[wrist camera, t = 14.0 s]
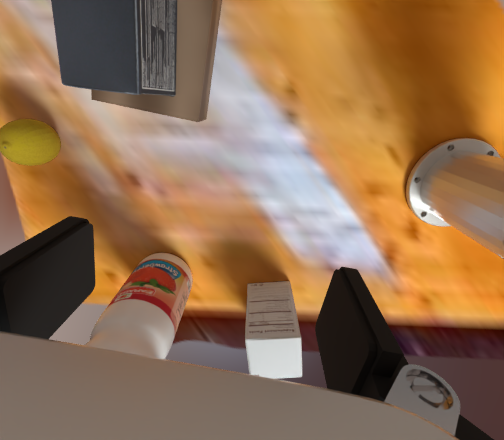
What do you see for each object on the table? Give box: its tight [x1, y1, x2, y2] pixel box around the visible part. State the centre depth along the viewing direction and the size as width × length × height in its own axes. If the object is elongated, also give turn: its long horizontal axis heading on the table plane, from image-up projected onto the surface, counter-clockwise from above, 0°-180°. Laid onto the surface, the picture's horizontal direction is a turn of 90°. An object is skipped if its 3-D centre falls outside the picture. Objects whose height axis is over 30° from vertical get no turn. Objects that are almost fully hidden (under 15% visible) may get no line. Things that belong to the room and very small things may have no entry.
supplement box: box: [245, 281, 302, 379], centre depth 43 cm, size 7×7×13 cm
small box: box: [51, 0, 177, 97], centre depth 24 cm, size 11×6×10 cm, turn 173°
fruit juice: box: [85, 253, 193, 359], centre depth 34 cm, size 9×9×28 cm
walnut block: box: [92, 0, 222, 122], centre depth 32 cm, size 12×14×6 cm
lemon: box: [0, 119, 61, 166], centre depth 35 cm, size 6×6×8 cm
